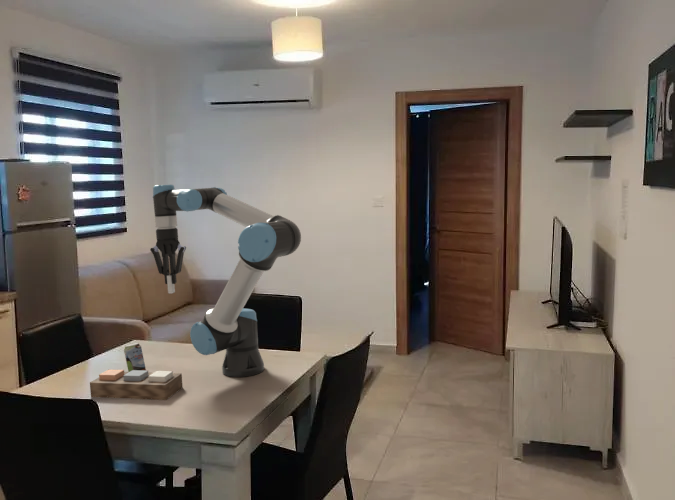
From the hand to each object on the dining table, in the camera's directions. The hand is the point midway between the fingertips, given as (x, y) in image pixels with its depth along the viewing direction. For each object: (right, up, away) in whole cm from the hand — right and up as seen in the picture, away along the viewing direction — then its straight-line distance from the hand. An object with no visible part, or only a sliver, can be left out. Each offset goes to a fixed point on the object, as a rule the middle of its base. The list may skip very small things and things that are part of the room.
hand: (171, 292), depth 230 cm
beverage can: (-13, -31, +2) cm, 33 cm away
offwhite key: (+2, -29, -19) cm, 35 cm away
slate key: (-7, -30, -17) cm, 35 cm away
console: (-7, -32, -17) cm, 37 cm away
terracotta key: (-16, -30, -15) cm, 37 cm away
